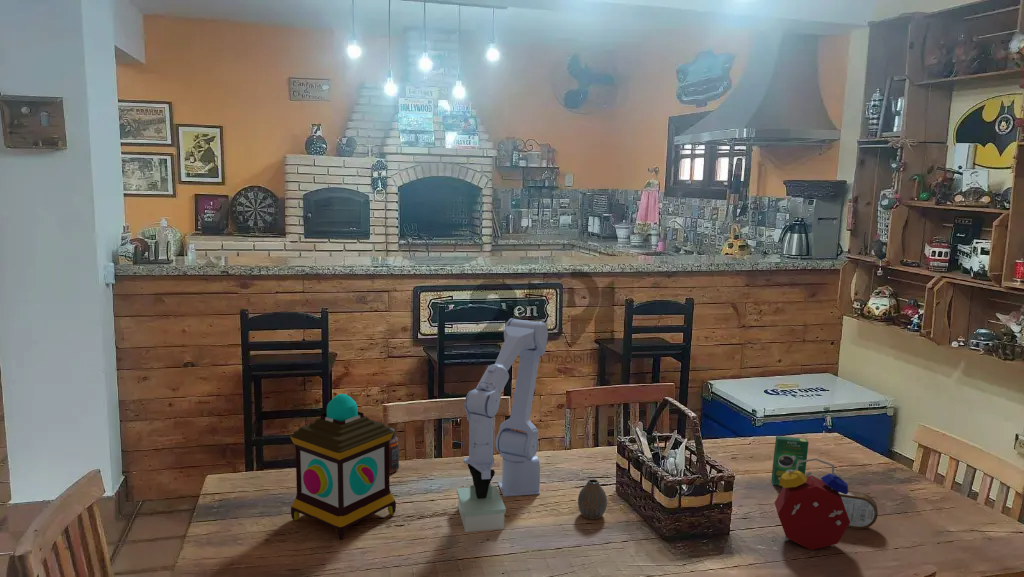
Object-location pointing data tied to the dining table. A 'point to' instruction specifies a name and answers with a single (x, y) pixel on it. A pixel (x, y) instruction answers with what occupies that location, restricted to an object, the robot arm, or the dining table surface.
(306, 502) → the decorative lantern
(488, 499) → the lid
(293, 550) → the dining table surface
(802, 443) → the coffee box
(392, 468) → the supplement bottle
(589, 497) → the vase
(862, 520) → the tin
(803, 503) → the alarm clock
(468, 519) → the tub
